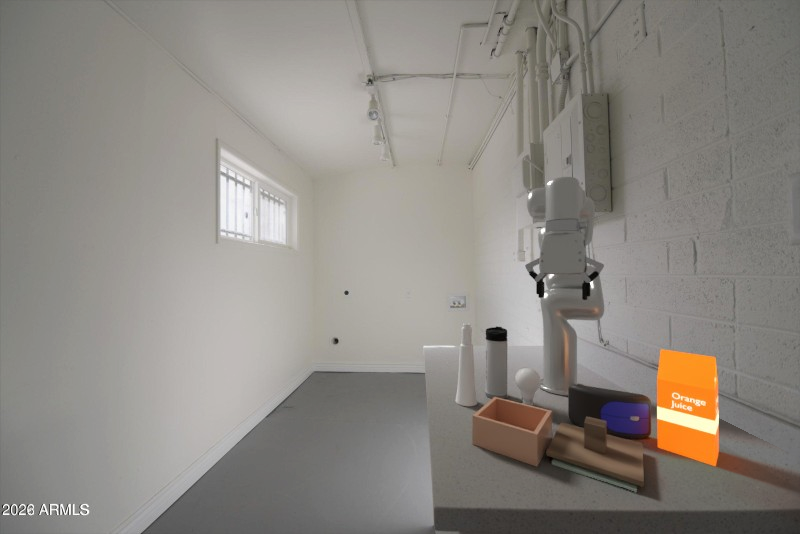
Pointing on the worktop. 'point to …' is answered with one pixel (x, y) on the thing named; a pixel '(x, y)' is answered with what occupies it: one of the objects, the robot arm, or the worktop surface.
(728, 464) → the worktop surface
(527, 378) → the lightbulb
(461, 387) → the cosmetic bottle
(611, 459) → the lid
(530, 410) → the salmon open box
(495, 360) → the travel mug
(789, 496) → the worktop surface
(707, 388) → the orange juice
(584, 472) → the mat
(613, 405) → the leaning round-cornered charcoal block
